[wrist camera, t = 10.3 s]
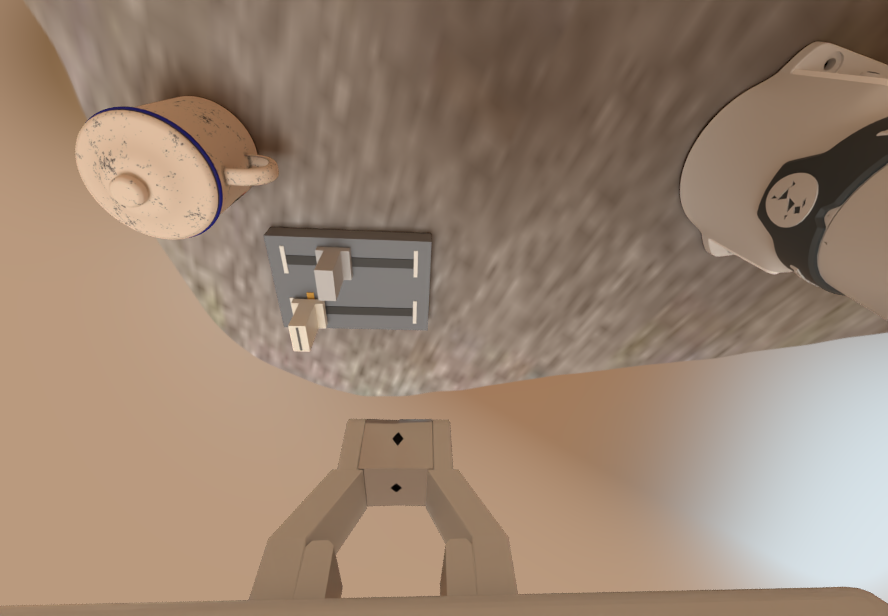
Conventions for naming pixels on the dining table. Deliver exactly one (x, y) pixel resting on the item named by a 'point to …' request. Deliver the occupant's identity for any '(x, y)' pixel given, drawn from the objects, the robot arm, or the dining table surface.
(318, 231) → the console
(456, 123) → the dining table surface
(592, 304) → the dining table surface
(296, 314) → the cap
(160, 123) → the teacup with lid
